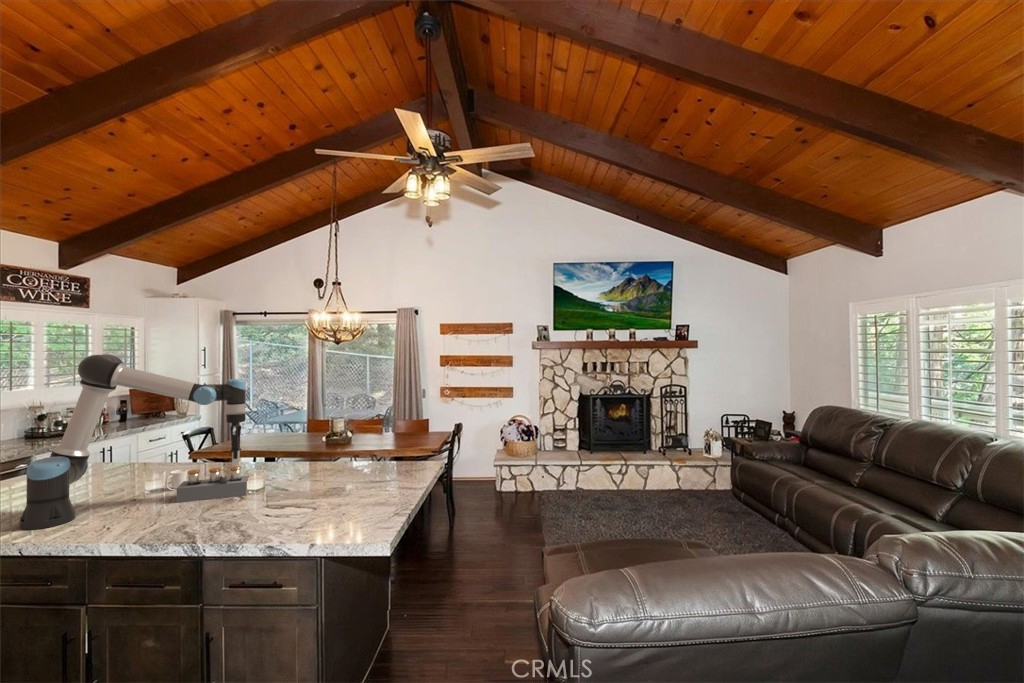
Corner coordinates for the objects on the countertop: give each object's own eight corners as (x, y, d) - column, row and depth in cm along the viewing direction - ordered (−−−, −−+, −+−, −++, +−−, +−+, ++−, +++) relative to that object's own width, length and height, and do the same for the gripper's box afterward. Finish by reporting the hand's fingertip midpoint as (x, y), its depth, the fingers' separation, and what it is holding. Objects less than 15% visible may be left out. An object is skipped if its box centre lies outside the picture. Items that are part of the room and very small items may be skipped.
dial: (225, 483, 211) (225, 476, 211) (218, 484, 210) (218, 477, 210) (228, 482, 214) (228, 475, 214) (221, 482, 213) (221, 475, 213)
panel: (249, 488, 225) (249, 475, 225) (246, 495, 214) (246, 481, 214) (183, 494, 215) (183, 481, 215) (176, 502, 204) (176, 488, 204)
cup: (191, 487, 228) (191, 469, 228) (172, 493, 218) (172, 475, 218) (178, 486, 229) (179, 469, 229) (159, 492, 219) (159, 474, 219)
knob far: (239, 483, 216) (239, 468, 216) (227, 483, 215) (228, 468, 215) (242, 480, 220) (242, 465, 221) (231, 481, 219) (231, 466, 220)
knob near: (197, 487, 210) (197, 471, 210) (185, 487, 209) (185, 472, 209) (201, 484, 214) (201, 469, 214) (189, 484, 213) (190, 469, 213)
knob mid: (218, 485, 213) (218, 470, 213) (206, 485, 212) (207, 470, 212) (222, 482, 217) (222, 467, 217) (210, 482, 216) (211, 468, 216)
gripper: (243, 414, 214) (243, 467, 213) (247, 411, 226) (246, 461, 225) (224, 415, 211) (223, 469, 210) (228, 412, 223) (228, 463, 222)
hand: (235, 465), depth 218 cm, fingers closed
